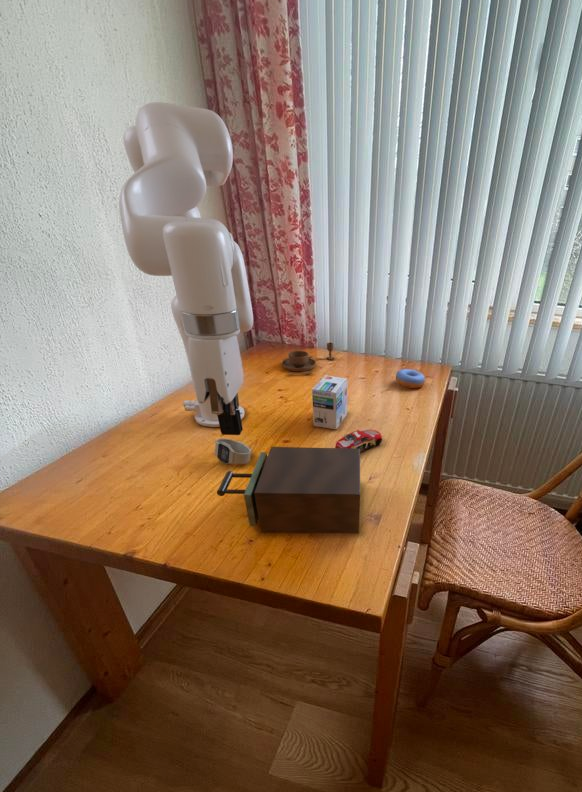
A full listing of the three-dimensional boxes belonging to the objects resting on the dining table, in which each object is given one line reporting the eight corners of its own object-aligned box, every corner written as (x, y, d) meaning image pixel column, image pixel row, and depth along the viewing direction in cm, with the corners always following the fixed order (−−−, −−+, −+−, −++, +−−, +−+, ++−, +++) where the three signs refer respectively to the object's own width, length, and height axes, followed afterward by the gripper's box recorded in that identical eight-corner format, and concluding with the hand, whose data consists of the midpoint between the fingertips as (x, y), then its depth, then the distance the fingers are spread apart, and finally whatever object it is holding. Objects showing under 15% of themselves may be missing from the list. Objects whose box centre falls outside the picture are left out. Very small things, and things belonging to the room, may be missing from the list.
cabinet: (260, 532, 70) (254, 492, 64) (275, 483, 82) (271, 446, 77) (359, 533, 71) (360, 494, 66) (359, 484, 83) (360, 448, 78)
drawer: (215, 526, 69) (206, 494, 65) (235, 481, 80) (229, 451, 76) (341, 527, 71) (341, 496, 66) (344, 482, 82) (344, 453, 78)
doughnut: (426, 381, 134) (427, 369, 132) (421, 392, 126) (422, 379, 124) (398, 377, 136) (399, 364, 133) (392, 388, 128) (393, 374, 125)
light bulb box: (336, 430, 102) (336, 393, 96) (312, 426, 103) (310, 389, 97) (348, 413, 111) (348, 377, 105) (325, 409, 112) (324, 374, 106)
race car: (372, 434, 102) (372, 421, 99) (386, 443, 98) (387, 429, 96) (331, 450, 94) (331, 436, 92) (345, 460, 91) (345, 445, 88)
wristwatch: (209, 457, 88) (205, 438, 85) (231, 445, 93) (227, 427, 90) (238, 470, 85) (234, 451, 82) (259, 457, 89) (256, 439, 87)
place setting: (280, 359, 144) (278, 343, 141) (332, 357, 149) (332, 341, 146) (284, 376, 130) (283, 359, 127) (342, 373, 136) (342, 357, 133)
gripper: (202, 309, 62) (222, 412, 72) (162, 335, 49) (194, 455, 59) (250, 311, 62) (263, 413, 72) (222, 338, 50) (243, 456, 60)
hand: (232, 432), depth 66 cm, fingers closed
